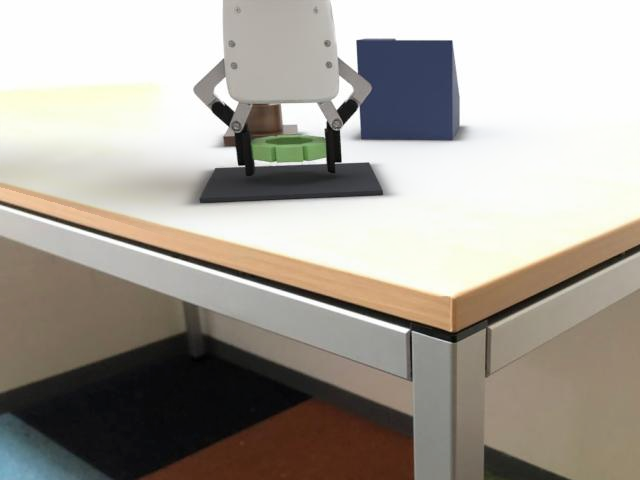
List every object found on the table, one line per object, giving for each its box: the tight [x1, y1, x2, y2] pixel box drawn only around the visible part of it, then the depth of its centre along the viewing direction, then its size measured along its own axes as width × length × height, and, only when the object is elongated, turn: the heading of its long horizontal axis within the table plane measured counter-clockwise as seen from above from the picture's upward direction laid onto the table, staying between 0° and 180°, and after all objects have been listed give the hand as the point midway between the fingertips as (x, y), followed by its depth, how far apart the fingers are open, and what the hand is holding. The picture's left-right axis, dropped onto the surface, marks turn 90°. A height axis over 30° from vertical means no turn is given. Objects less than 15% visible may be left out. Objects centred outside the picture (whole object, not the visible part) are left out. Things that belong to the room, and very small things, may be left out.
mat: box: [199, 161, 384, 203], centre depth 72 cm, size 16×14×1 cm
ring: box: [251, 134, 327, 164], centre depth 71 cm, size 7×7×1 cm
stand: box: [222, 103, 299, 147], centre depth 96 cm, size 9×9×8 cm
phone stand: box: [355, 38, 461, 141], centre depth 100 cm, size 12×12×12 cm
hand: (291, 170), depth 72 cm, fingers closed on ring, 7 cm apart
